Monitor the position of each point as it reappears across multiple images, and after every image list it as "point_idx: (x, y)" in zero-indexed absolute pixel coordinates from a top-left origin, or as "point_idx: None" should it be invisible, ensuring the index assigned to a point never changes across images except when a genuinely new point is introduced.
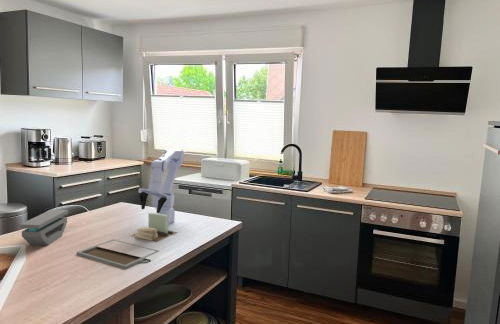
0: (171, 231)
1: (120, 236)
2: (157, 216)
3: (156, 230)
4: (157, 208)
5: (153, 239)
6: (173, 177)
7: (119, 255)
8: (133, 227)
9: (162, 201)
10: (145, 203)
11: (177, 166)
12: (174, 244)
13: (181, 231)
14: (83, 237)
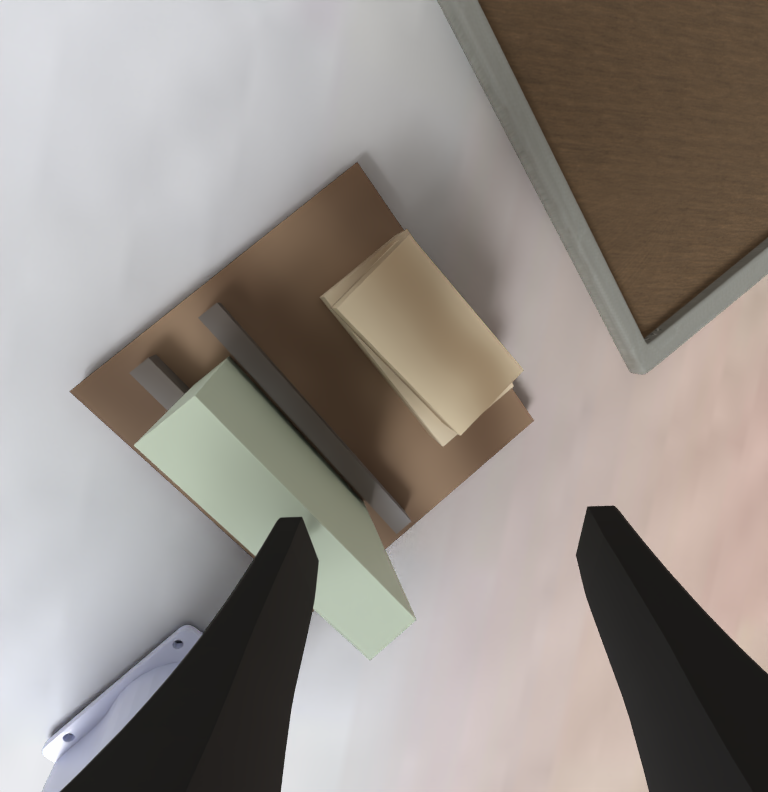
0: (149, 368)
1: (566, 471)
2: (308, 499)
3: (339, 302)
4: (301, 643)
5: (368, 249)
6: None
7: (669, 16)
8: (441, 664)
9: (175, 754)
10: (641, 589)
11: None
12: (177, 75)
13: (22, 479)
14: (752, 508)
